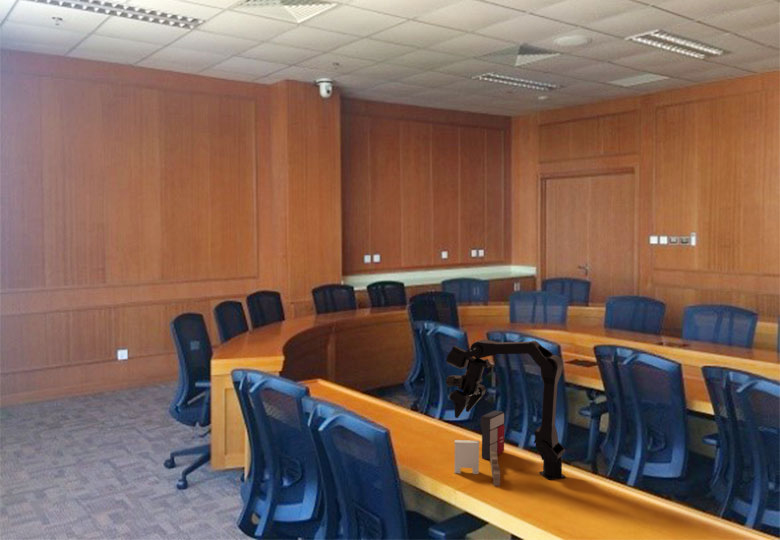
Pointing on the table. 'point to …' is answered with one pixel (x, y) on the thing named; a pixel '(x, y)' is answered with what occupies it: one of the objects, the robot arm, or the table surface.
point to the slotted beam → (495, 468)
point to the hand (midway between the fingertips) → (461, 414)
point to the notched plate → (467, 455)
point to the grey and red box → (492, 433)
